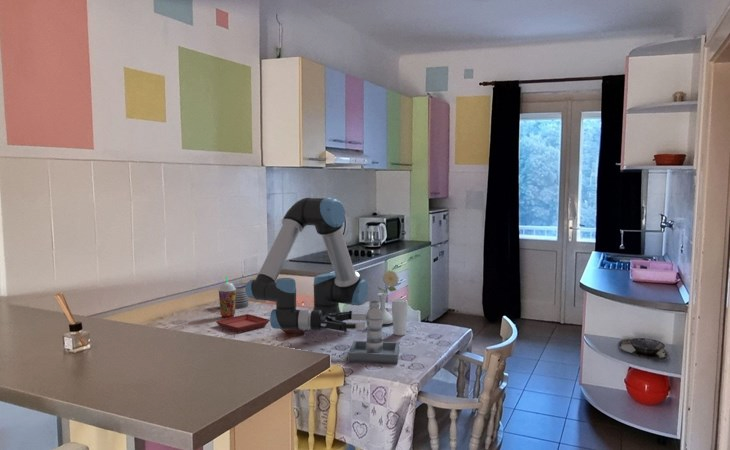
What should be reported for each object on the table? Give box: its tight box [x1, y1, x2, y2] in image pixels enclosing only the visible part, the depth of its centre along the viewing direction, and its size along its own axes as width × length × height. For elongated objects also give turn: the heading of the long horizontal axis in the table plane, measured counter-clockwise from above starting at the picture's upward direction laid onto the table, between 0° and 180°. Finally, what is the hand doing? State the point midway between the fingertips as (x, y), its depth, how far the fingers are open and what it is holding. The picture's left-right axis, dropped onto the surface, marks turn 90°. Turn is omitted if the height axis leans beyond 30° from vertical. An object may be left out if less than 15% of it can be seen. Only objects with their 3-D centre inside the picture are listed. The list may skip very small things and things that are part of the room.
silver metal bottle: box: [365, 300, 384, 353], centre depth 211 cm, size 6×7×20 cm
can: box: [232, 282, 249, 310], centre depth 296 cm, size 11×11×12 cm
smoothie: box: [218, 276, 236, 319], centre depth 272 cm, size 8×8×20 cm
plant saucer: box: [215, 313, 270, 333], centre depth 256 cm, size 18×18×3 cm
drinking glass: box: [391, 298, 409, 337], centre depth 242 cm, size 7×7×15 cm
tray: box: [347, 340, 400, 365], centre depth 212 cm, size 16×18×4 cm
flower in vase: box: [377, 269, 400, 325], centre depth 261 cm, size 13×11×25 cm
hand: (366, 321), depth 211 cm, fingers open, 13 cm apart
